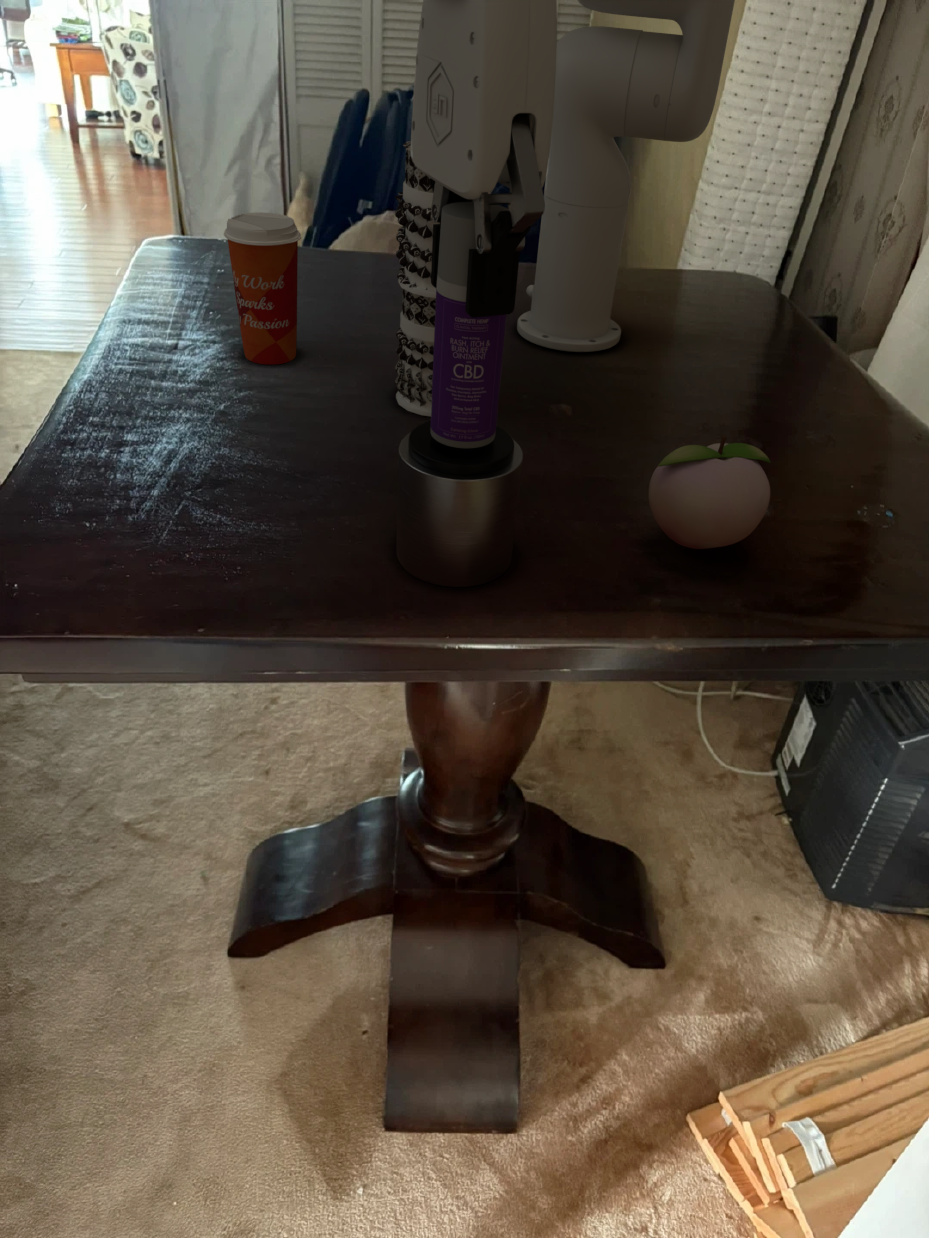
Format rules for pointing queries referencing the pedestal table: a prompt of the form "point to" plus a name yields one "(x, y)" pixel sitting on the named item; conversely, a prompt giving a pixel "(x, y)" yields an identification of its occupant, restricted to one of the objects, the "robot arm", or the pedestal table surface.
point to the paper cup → (265, 284)
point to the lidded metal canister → (456, 508)
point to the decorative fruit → (710, 494)
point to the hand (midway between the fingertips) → (471, 297)
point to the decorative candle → (415, 291)
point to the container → (463, 342)
